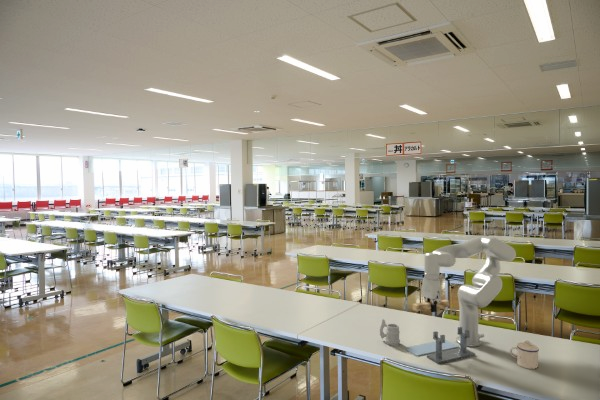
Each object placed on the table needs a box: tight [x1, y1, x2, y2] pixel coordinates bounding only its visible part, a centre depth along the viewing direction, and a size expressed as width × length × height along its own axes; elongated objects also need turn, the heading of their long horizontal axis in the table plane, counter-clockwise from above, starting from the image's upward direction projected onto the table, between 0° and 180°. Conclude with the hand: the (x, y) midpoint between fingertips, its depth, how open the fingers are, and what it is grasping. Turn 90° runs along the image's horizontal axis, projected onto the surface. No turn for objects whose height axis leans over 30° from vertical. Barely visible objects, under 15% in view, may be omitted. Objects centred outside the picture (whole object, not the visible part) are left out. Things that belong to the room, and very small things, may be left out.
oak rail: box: [411, 299, 450, 312], centre depth 203 cm, size 22×3×3 cm, turn 113°
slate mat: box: [403, 339, 460, 357], centre depth 204 cm, size 28×10×1 cm, turn 113°
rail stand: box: [426, 326, 476, 365], centre depth 193 cm, size 24×8×13 cm, turn 113°
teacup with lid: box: [509, 340, 540, 370], centre depth 185 cm, size 12×9×12 cm
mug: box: [379, 318, 401, 347], centre depth 211 cm, size 8×12×12 cm, turn 50°
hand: (431, 310), depth 203 cm, fingers closed on oak rail, 3 cm apart
